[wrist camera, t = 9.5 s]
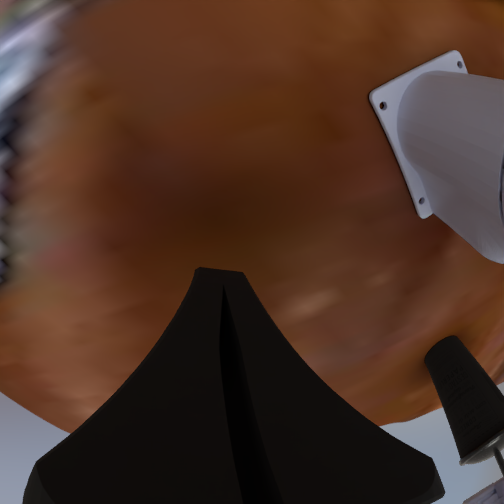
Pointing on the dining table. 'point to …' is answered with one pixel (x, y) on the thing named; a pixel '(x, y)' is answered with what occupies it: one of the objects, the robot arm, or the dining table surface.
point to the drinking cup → (468, 401)
